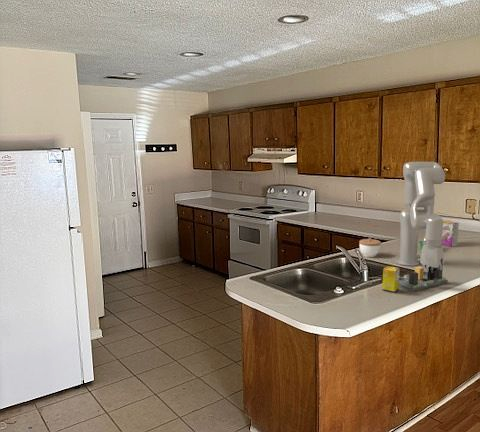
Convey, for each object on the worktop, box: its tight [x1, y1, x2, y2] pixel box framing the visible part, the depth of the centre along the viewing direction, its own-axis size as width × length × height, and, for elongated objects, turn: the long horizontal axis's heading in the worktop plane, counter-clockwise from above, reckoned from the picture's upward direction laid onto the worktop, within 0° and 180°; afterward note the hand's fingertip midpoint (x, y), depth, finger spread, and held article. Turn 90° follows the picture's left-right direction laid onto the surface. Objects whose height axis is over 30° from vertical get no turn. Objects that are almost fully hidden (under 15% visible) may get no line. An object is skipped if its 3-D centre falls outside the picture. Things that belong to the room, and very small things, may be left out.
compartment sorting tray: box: [399, 266, 449, 293], centre depth 222 cm, size 26×14×8 cm, turn 119°
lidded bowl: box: [358, 237, 381, 258], centre depth 272 cm, size 13×13×11 cm
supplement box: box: [382, 265, 401, 294], centre depth 212 cm, size 6×6×11 cm
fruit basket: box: [418, 236, 425, 251], centre depth 284 cm, size 11×9×11 cm
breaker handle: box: [414, 266, 425, 280], centre depth 221 cm, size 3×3×6 cm
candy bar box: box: [442, 219, 460, 248], centre depth 296 cm, size 11×5×16 cm, turn 22°
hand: (430, 279), depth 216 cm, fingers closed
